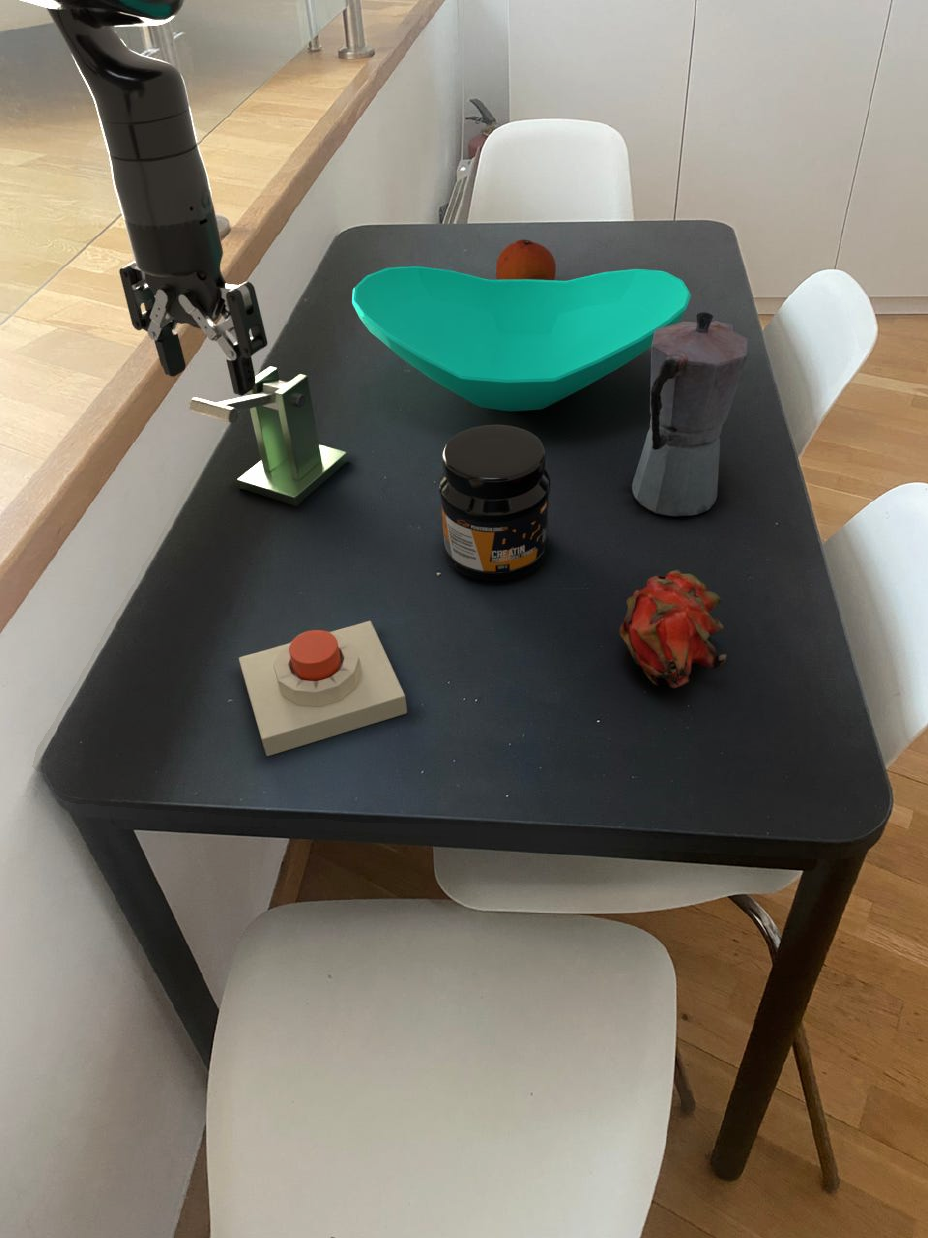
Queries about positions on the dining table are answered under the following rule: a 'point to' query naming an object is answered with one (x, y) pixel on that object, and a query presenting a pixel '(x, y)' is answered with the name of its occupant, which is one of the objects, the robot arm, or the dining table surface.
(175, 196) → the robot arm
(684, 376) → the moka pot
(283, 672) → the button base
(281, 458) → the switch bracket
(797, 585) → the dining table surface
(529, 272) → the fruit
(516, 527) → the supplement container
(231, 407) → the switch lever
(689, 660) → the dragon fruit
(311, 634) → the button
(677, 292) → the table top decor
